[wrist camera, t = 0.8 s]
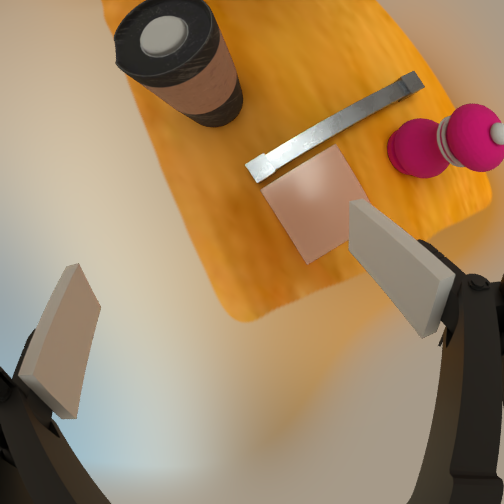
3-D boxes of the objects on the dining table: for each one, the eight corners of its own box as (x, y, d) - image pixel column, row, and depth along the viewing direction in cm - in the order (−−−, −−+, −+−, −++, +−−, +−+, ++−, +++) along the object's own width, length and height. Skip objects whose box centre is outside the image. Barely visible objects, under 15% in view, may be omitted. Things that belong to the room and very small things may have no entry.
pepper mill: (373, 136, 34) (458, 99, 15) (415, 117, 33) (509, 79, 13) (398, 187, 35) (496, 194, 16) (437, 166, 34) (541, 162, 14)
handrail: (401, 80, 32) (414, 70, 27) (410, 95, 32) (425, 86, 28) (248, 167, 36) (244, 164, 32) (259, 183, 37) (257, 182, 32)
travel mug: (257, 92, 34) (238, 8, 15) (223, 140, 36) (168, 96, 16) (208, 66, 34) (153, -19, 14) (175, 112, 35) (91, 59, 16)
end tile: (334, 144, 35) (335, 143, 34) (378, 219, 36) (379, 220, 36) (260, 189, 37) (259, 189, 36) (306, 263, 38) (307, 264, 38)
